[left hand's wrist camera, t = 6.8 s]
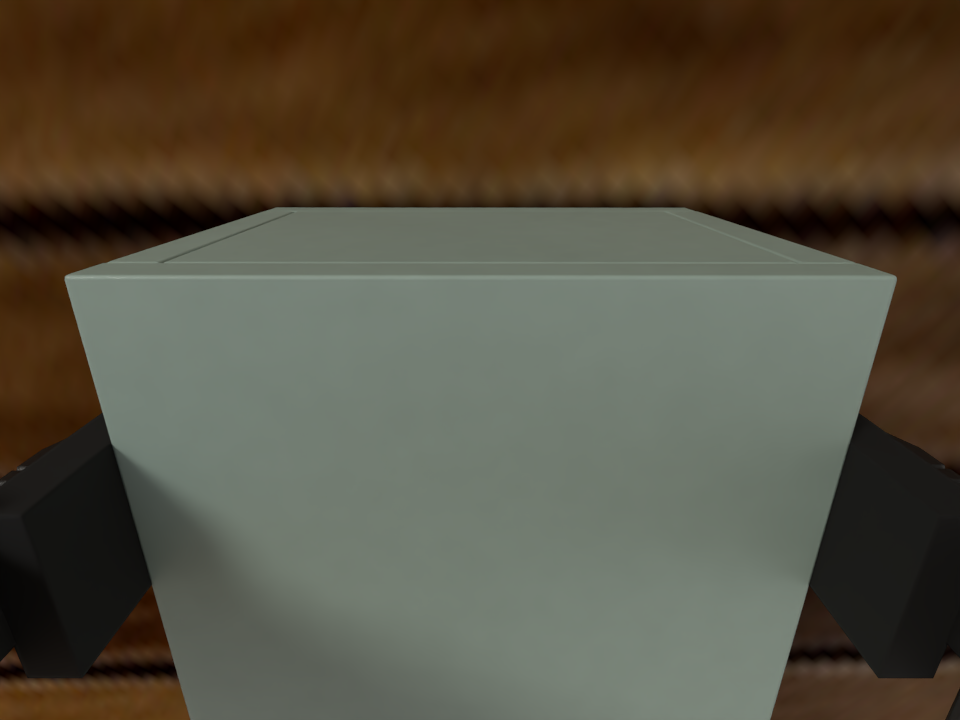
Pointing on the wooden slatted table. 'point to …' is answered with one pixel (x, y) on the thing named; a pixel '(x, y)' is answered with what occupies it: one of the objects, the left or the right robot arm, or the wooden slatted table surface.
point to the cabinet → (480, 456)
